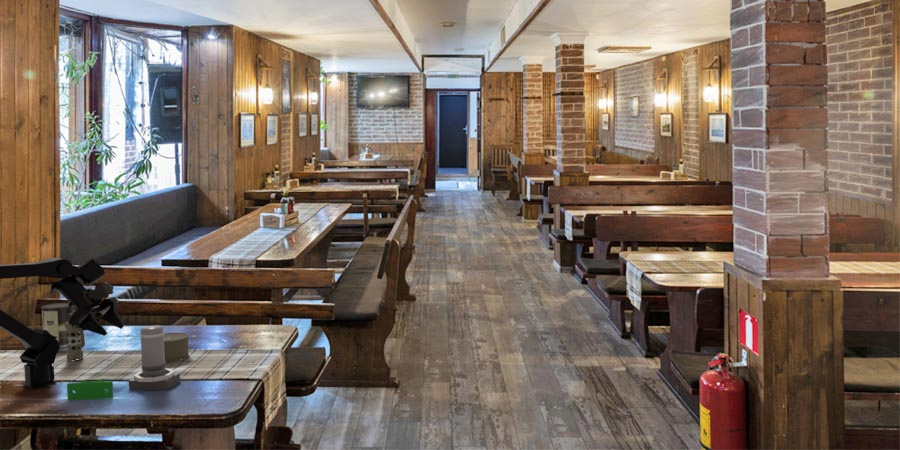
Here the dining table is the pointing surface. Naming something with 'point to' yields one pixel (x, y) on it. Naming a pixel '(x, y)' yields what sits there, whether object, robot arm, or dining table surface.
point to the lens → (152, 351)
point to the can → (175, 346)
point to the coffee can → (57, 320)
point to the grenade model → (74, 341)
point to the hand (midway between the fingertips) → (114, 331)
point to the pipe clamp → (90, 390)
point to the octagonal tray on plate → (154, 381)
